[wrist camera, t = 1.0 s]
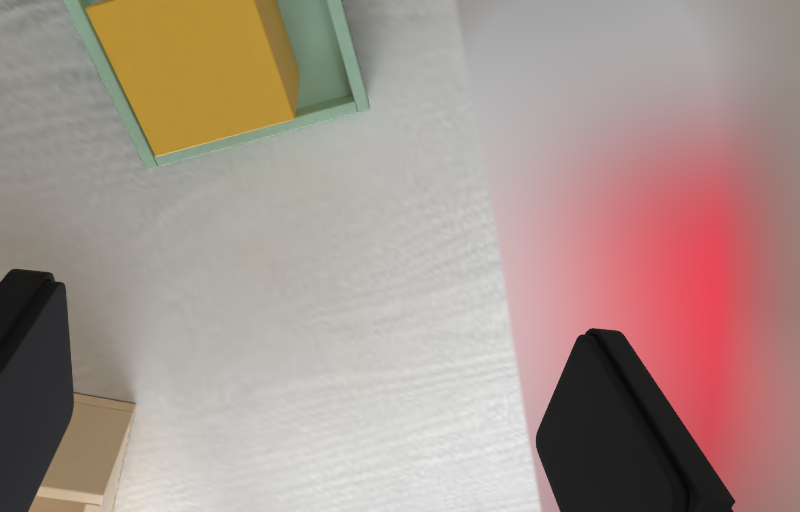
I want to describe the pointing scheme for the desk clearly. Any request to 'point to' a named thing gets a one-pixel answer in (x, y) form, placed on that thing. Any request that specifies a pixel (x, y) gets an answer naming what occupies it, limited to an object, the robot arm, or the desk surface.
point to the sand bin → (87, 458)
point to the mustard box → (199, 66)
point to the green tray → (316, 58)
